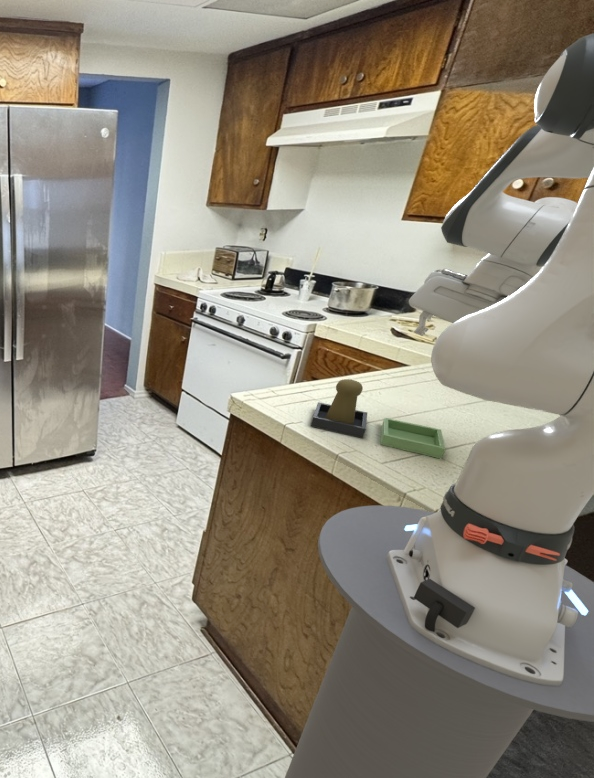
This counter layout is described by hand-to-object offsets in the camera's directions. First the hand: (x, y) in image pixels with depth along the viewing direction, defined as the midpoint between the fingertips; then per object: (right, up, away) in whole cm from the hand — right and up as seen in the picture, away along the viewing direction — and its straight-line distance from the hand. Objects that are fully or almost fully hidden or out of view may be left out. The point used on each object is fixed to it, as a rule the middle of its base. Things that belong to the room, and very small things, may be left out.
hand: (442, 344), depth 98 cm
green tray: (+1, -22, +10) cm, 24 cm away
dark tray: (-9, -18, +18) cm, 27 cm away
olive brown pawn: (-9, -18, +18) cm, 27 cm away
